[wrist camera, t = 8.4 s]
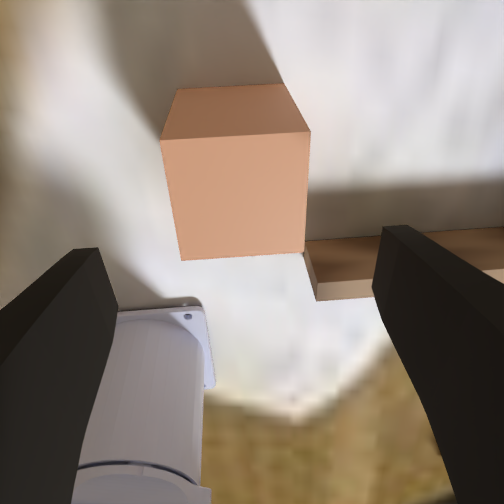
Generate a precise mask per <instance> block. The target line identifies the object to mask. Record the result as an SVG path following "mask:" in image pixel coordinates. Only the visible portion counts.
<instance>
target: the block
mask: <svg viewBox="0 0 504 504" xmlns="http://www.w3.org/2000/svg"><path fill="white" fill-rule="evenodd" d="M310 136H311V131H310V129H309V128H308V126H307V124H306V122H305V120H304V118H303V117H302V115H301V113H300V111H299V109H298V108H297V106H296V104H295V102H294V100H293V99H292V97H291V95H290V93H289V91H288V90H287V88H286V86H285V84H284V83H279V84H260V85H242V86H223V87H205V88H186V89H177V91H176V94H175V97H174V100H173V103H172V106H171V108H170V111H169V114H168V117H167V120H166V123H165V126H164V129H163V132H162V134H161V137H160V140H159V141H160V146H161V152H162V157H163V163H164V168H165V174H166V179H167V185H168V190H169V196H170V201H171V207H172V212H173V217H174V223H175V228H176V234H177V239H178V245H179V250H180V256H181V261H185V260H199V259H214V258H228V257H243V256H257V255H272V254H286V253H301V252H304V242H305V225H306V207H307V189H308V171H309V154H310Z"/></svg>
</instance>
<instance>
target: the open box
mask: <svg viewBox="0 0 504 504" xmlns="http://www.w3.org/2000/svg"><path fill="white" fill-rule="evenodd" d="M422 234H423V235H425V236H427V237H428V238H430V239H431V240H433V241H435V242H436V243H438V244H439V245H441V246H442V247H444V248H446V249H447V250H449V251H450V252H452V253H453V254H455V255H457V256H458V257H460V258H461V259H463V260H465V261H466V262H468V263H469V264H471V265H473V266H474V267H476V268H478V269H479V270H481V271H483V272H484V273H486V274H488V275H489V276H491V277H493V278H494V279H496V280H498V281H500V282H501V283H503V284H504V227H494V228H480V229H467V230H453V231H439V232H426V233H422ZM380 239H381V236H371V237H357V238H344V239H330V240H316V241H305V246H304V261H305V264H306V268H307V271H308V275H309V278H310V281H311V285H312V288H313V292H314V295H315V299H316V301H328V300H341V299H354V298H367V297H374V294H373V291H372V287H371V286H372V281H373V276H374V271H375V266H376V260H377V255H378V250H379V245H380Z"/></svg>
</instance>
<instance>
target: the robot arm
mask: <svg viewBox="0 0 504 504" xmlns="http://www.w3.org/2000/svg"><path fill="white" fill-rule="evenodd" d="M371 287H372V291H373V294H374V297H375V300H376V304H377V307H378V310H379V313H380V316H381V319H382V321H383V323H384V326H385V328H386V330H387V332H388V334H389V336H390V338H391V340H392V342H393V344H394V347H395V349H396V351H397V353H398V355H399V357H400V359H401V361H402V363H403V365H404V367H405V369H406V371H407V373H408V375H409V377H410V379H411V381H412V383H413V386H414V388H415V390H416V392H417V394H418V396H419V398H420V400H421V403H422V405H423V407H424V410H425V412H426V414H427V417H428V420H429V422H430V425H431V428H432V431H433V433H434V436H435V439H436V442H437V444H438V447H439V450H440V452H441V455H442V458H443V461H444V464H445V467H446V470H447V473H448V476H449V479H450V482H451V485H452V488H453V491H454V494H455V497H456V500H457V503H458V504H504V284H503V283H501V282H500V281H498V280H496V279H494V278H493V277H491V276H489V275H488V274H486V273H484V272H483V271H481V270H479V269H478V268H476V267H474V266H473V265H471V264H469V263H468V262H466V261H465V260H463V259H461V258H460V257H458V256H457V255H455V254H453V253H452V252H450V251H449V250H447V249H446V248H444V247H442V246H441V245H439V244H438V243H436V242H435V241H433V240H431V239H430V238H428V237H427V236H425V235H423V234H422V233H420V232H418V231H417V230H415V229H413V228H411V227H409V226H408V225H399V226H385V227H383V229H382V234H381V239H380V245H379V250H378V255H377V260H376V266H375V271H374V276H373V281H372V286H371ZM186 314H191V315H186ZM215 386H216V378H215V372H214V366H213V359H212V353H211V347H210V341H209V334H208V328H207V322H206V316H205V311H204V309H203V308H202V307H200V306H188V307H176V308H163V309H150V310H137V311H124V312H118V304H117V301H116V298H115V295H114V292H113V289H112V287H111V284H110V281H109V278H108V275H107V272H106V269H105V266H104V263H103V260H102V257H101V254H100V252H99V249H98V247H97V248H83V249H73V250H72V251H70V252H69V253H68V254H66V255H65V256H64V257H63V258H61V259H60V260H59V261H58V262H57V263H56V264H54V265H53V266H52V267H51V268H50V269H49V270H47V271H46V272H45V273H44V274H43V275H42V276H40V277H39V278H38V279H37V280H36V281H35V282H33V283H32V284H31V285H30V286H29V287H28V288H26V289H25V290H24V291H23V292H22V293H21V294H19V295H18V296H17V297H16V298H15V299H14V300H12V301H11V302H10V303H9V304H8V305H6V306H5V307H4V308H2V309H1V310H0V504H211V489H210V488H205V487H200V477H201V450H202V422H203V395H204V389H212V388H214V387H215Z"/></svg>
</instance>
